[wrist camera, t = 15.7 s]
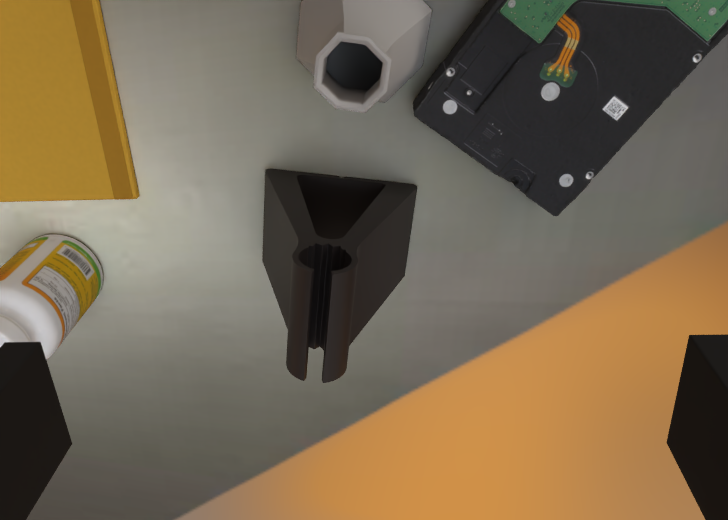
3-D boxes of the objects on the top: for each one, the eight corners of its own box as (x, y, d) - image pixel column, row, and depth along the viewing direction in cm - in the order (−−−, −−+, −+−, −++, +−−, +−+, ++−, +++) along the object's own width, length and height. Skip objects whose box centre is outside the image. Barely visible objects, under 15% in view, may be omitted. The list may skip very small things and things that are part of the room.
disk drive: (550, 201, 41) (747, -20, 34) (559, 221, 38) (773, -13, 32) (409, 103, 38) (593, -153, 32) (409, 117, 36) (609, -157, 30)
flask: (455, 1, 36) (474, 32, 27) (392, 122, 39) (390, 186, 30) (330, -67, 34) (306, -58, 25) (275, 64, 37) (237, 112, 29)
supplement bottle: (24, 297, 45) (-65, 389, 37) (19, 225, 43) (-77, 304, 34) (105, 311, 45) (36, 405, 37) (105, 240, 43) (31, 323, 34)
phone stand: (263, 256, 43) (218, 371, 32) (266, 167, 40) (219, 260, 30) (404, 273, 43) (406, 392, 32) (417, 184, 40) (425, 284, 30)
